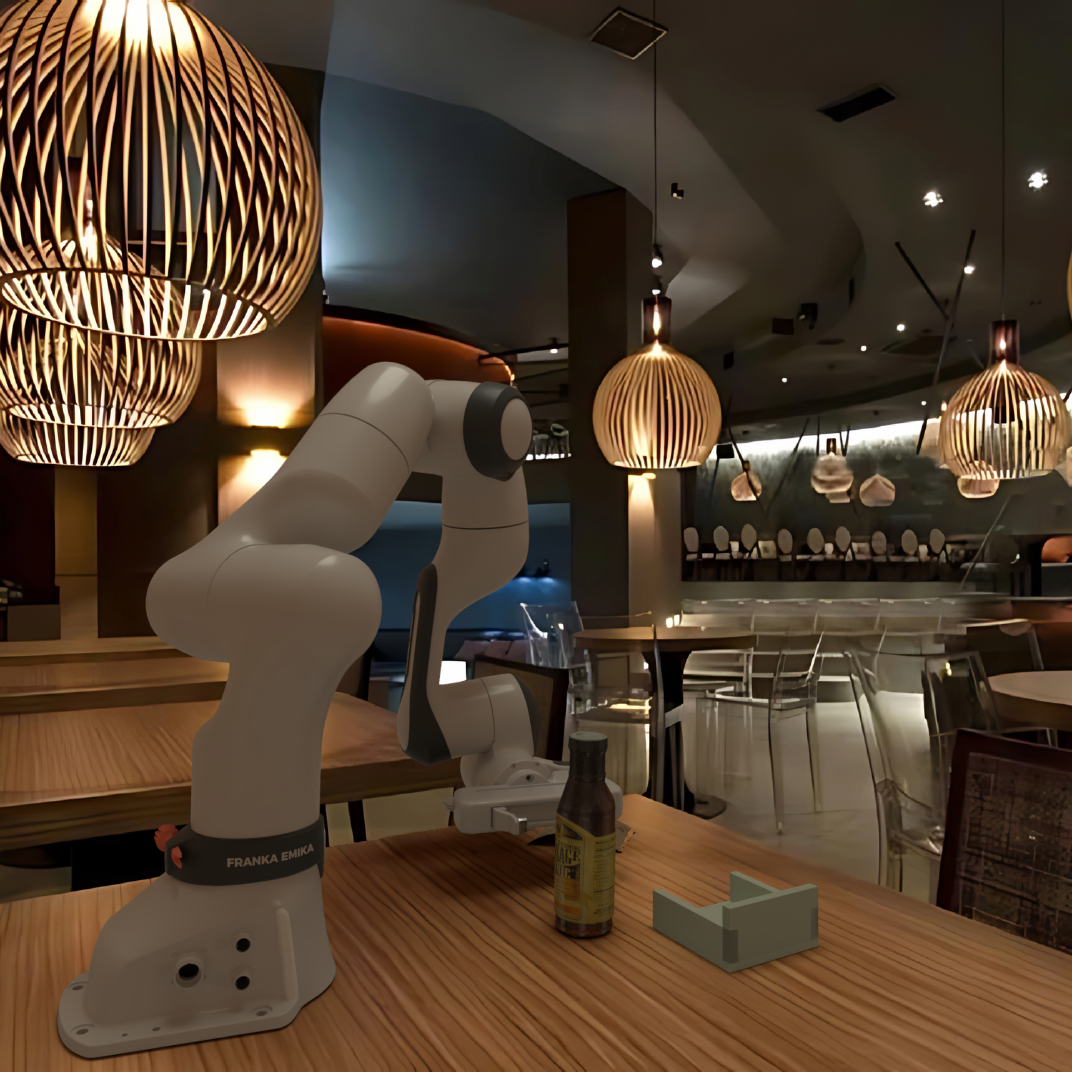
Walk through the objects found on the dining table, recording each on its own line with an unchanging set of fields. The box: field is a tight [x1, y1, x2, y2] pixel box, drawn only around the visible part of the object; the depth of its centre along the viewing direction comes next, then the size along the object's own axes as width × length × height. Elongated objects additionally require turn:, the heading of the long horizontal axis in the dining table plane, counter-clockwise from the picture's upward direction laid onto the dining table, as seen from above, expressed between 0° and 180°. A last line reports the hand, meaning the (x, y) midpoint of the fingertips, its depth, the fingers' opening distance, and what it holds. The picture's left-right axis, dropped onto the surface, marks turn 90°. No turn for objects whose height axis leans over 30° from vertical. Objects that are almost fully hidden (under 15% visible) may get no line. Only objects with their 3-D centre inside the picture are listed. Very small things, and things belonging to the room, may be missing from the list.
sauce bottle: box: [553, 730, 617, 938], centre depth 90 cm, size 6×6×20 cm
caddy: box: [652, 870, 819, 974], centre depth 88 cm, size 12×12×6 cm
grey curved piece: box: [527, 819, 632, 853], centre depth 119 cm, size 14×10×3 cm
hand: (561, 823), depth 95 cm, fingers open, 8 cm apart
